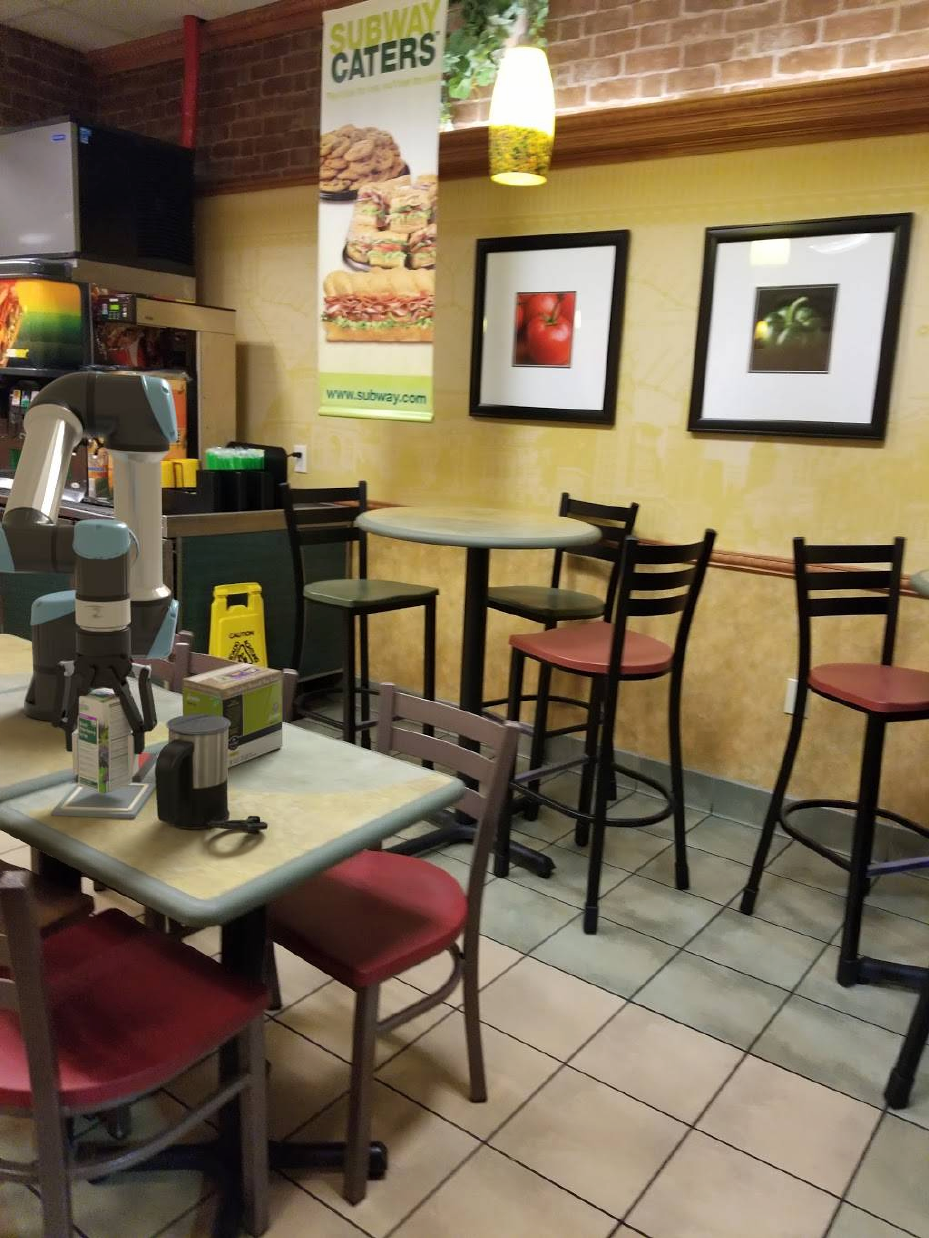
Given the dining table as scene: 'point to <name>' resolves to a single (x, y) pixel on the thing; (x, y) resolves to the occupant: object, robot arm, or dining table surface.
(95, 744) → the syrup box
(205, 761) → the milk frother
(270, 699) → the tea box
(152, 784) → the marked board
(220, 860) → the dining table surface
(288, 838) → the dining table surface
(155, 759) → the ink pad
